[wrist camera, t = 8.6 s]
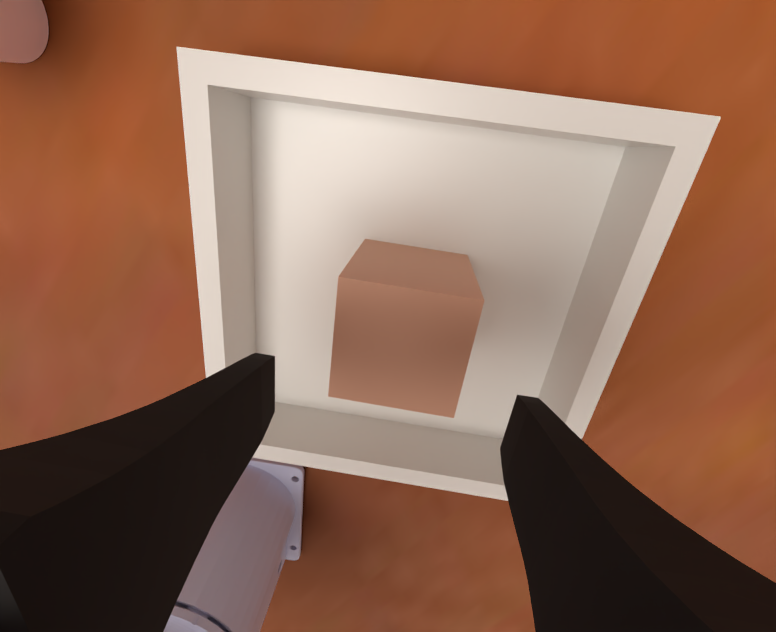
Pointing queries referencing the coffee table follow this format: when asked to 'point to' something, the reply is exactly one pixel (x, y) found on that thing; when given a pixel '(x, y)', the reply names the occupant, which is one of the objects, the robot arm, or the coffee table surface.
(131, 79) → the coffee table surface
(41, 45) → the smoothie
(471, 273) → the brown cube block
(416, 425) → the tray
